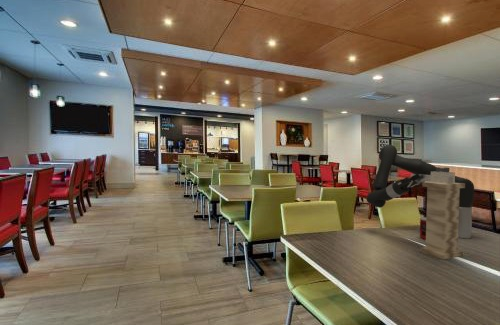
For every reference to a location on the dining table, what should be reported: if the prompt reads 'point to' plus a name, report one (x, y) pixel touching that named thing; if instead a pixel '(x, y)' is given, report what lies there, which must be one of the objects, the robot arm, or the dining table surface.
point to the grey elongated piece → (438, 176)
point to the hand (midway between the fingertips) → (423, 175)
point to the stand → (442, 220)
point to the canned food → (423, 228)
